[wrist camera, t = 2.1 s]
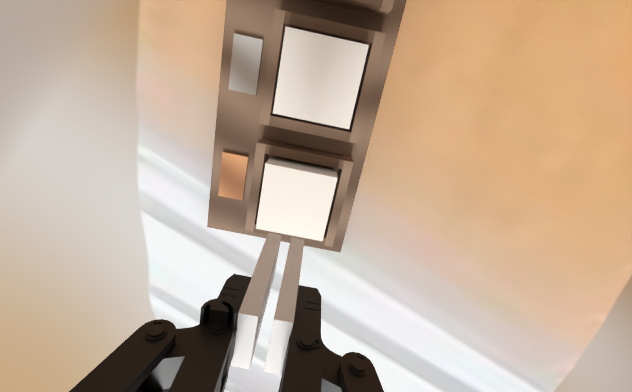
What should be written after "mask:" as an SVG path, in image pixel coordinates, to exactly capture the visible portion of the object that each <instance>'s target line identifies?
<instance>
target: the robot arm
mask: <svg viewBox="0 0 632 392" xmlns="http://www.w3.org/2000/svg"><path fill="white" fill-rule="evenodd" d="M280 240H281V235H277V234H271V233H268V236H267V238H266V241H265V244H264V246H263V249H262V252H261V254H260V257H259V259H258V262H257V265H256V267H255V270H254V273H253V275H252V277H247V276H242V275H236V274H234V275H232V276H231V277H230V278H228V279H227V280H226V282H225V284H224V286H223V288H222V290H221V292H220V294H219V296H218V298H217V299H213V300H210V301H208V302H206V303H205V304H204V305H203V306H202V307H201V315H200V324H199V325H197V326H194V327H191V328H183V329H176V327H175V326H174V324H173V323H171V322H170V321H168V320H162V319H161V320H153V321H150V322H148V323H145V324H144V325H143V326H141V327H140V328H139V329H138V330H136V331H135V332H134V333H133V334H132V335H131V336H130V337H129V338H128V339H127V340H125V341H124V342H123V343H122V344H121V345H120V346H119V347H118V348H117V349H116V350H115V351H113V352H112V353H111V354H110V355H109V356H108V357H107V358H106V359H105V360H103V362H101V363H100V364H99V365H98V366H97V367H96V368H95V369H94V370H93V371H91V372H90V373H89V374H88V375H87V376H86V377H85V378H84V379H83V380H82V381H80V382H79V383H78V384H77V385H76V386H75V387H74V388H73V389H72V390H71V391H69V392H224V389H225V385H226V382H227V378H228V371H229V367H230V364H231V366H233V367H239V368H245V369H250V365H251V361H252V357H253V354H254V350H255V346H256V342H257V338H258V335H259V331H260V327H261V323H262V319H263V316H264V312H265V308H266V304H267V300H268V297H269V293H270V289H271V285H272V281H273V278H274V273H275V268H276V262H277V257H278V251H279V246H280ZM303 246H304V240H303V239H298V238H292V237H291V242H290V246H289V251H288V256H287V260H286V265H285V270H284V274H283V279H282V284H281V288H280V293H279V298H278V302H277V307H276V312H275V316H274V321H273V326H272V332H271V337H270V342H269V347H268V352H267V358H266V363H265V368H264V372H268V373H274V374H280V375H282V378H281V382H280V387H279V391H278V392H384V391H383V388H382V386H381V383H380V381H379V378H378V376H377V373H376V371H375V368H374V366H373V364H372V363H371V361H370V360H369V359H368V358H367V357H366V356H364V355H362V354H360V353H355V352H350V353H346V354H345V355H344V356H343V357H342V356H340V355H337V354H335V353H333V352H332V351H330V350H329V349H328V348H327V347H326V346H325V345H324V344H323V342H322V340H321V295H320V293H319V291H318V289H316V288H311V287H306V286H300V285H299V277H300V269H301V261H302V254H303ZM231 361H232V362H231Z"/></svg>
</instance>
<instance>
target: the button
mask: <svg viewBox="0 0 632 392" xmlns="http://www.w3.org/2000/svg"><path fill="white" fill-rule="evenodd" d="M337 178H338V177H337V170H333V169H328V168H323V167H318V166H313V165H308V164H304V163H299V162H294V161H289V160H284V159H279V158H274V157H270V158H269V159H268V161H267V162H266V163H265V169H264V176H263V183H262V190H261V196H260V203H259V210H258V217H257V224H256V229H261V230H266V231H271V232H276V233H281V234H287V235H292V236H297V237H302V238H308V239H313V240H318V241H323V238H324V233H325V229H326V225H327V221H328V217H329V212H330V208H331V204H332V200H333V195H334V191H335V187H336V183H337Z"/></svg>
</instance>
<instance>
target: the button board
mask: <svg viewBox="0 0 632 392" xmlns="http://www.w3.org/2000/svg"><path fill="white" fill-rule="evenodd" d="M405 4H406V0H227V3H226V14H225V26H224V38H223V49H222V61H221V73H220V84H219V96H218V108H217V119H216V131H215V143H214V155H213V166H212V178H211V190H210V201H209V213H208V225H207V227H210V228H215V229H221V230H226V231H231V232H236V233H242V234H247V235H252V236H257V237H263V238H267V236H268V233H271V234H277V235H281V240H280V241H284V242H289V243H290V242H291V237H292V238H298V239H303V240H304V245H305V246H310V247H315V248H320V249H326V250H331V251H336V252H340V251H341V247H342V244H343V240H344V236H345V232H346V228H347V225H348V221H349V217H350V213H351V209H352V206H353V202H354V198H355V194H356V190H357V187H358V183H359V179H360V175H361V171H362V168H363V164H364V160H365V156H366V152H367V149H368V145H369V141H370V137H371V133H372V130H373V126H374V122H375V118H376V114H377V110H378V107H379V103H380V99H381V95H382V91H383V88H384V84H385V80H386V76H387V72H388V69H389V65H390V61H391V57H392V53H393V50H394V46H395V42H396V38H397V34H398V31H399V27H400V23H401V19H402V15H403V12H404V8H405ZM285 27H290V28H295V29H299V30H304V31H308V32H313V33H317V34H322V35H326V36H331V37H335V38H340V39H344V40H349V41H353V42H357V43H362V44H366V45H369V47H368V52H367V56H366V60H365V64H364V68H363V73H362V77H361V81H360V85H359V90H358V94H357V98H356V102H355V107H354V111H353V115H352V119H351V123H350V128H349V129H345V128H340V127H335V126H331V125H326V124H321V123H316V122H312V121H307V120H302V119H297V118H292V117H288V116H283V115H278V114H273V108H274V102H275V95H276V88H277V81H278V74H279V68H280V61H281V54H282V47H283V40H284V34H285ZM270 157H274V158H279V159H284V160H289V161H294V162H299V163H304V164H308V165H313V166H318V167H323V168H328V169H333V170H337V177H338V178H337V183H336V187H335V191H334V195H333V200H332V204H331V208H330V212H329V217H328V221H327V225H326V229H325V233H324V238H323V241H318V240H313V239H308V238H302V237H297V236H292V235H287V234H281V233H276V232H271V231H266V230H261V229H256V224H257V217H258V210H259V203H260V196H261V190H262V183H263V176H264V169H265V163H266V162H267V161H268V159H269V158H270Z"/></svg>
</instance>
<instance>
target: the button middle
mask: <svg viewBox="0 0 632 392" xmlns="http://www.w3.org/2000/svg"><path fill="white" fill-rule="evenodd" d="M368 47H369V45H366V44H362V43H357V42H353V41H349V40H344V39H340V38H335V37H331V36H326V35H322V34H317V33H313V32H308V31H304V30H299V29H295V28H290V27H285V34H284V40H283V47H282V54H281V61H280V68H279V74H278V81H277V88H276V95H275V102H274V108H273V114H278V115H283V116H288V117H292V118H297V119H302V120H307V121H312V122H316V123H321V124H326V125H331V126H335V127H340V128H345V129H349V128H350V123H351V119H352V115H353V111H354V107H355V102H356V98H357V94H358V90H359V85H360V81H361V77H362V73H363V68H364V64H365V60H366V56H367V52H368Z"/></svg>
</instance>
